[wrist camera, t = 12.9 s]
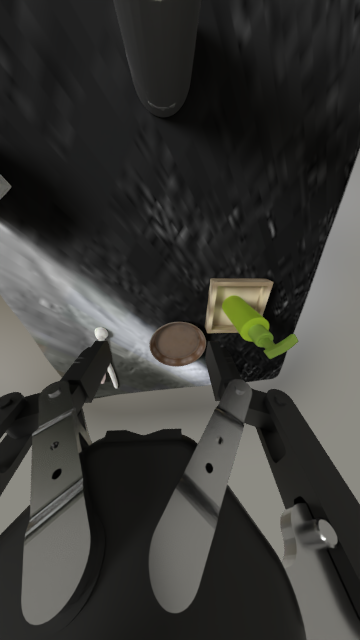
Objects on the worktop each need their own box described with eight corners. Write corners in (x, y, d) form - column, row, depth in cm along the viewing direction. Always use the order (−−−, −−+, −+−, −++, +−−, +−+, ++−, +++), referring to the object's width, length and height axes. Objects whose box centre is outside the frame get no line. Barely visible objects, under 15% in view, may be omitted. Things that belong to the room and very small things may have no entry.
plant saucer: (213, 326, 47) (216, 331, 44) (191, 364, 54) (192, 371, 52) (159, 309, 43) (159, 314, 40) (144, 353, 51) (143, 360, 48)
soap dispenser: (249, 303, 42) (304, 349, 25) (228, 317, 44) (266, 370, 27) (239, 288, 40) (292, 328, 22) (218, 304, 42) (252, 352, 24)
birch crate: (210, 278, 39) (214, 282, 36) (265, 278, 40) (273, 282, 37) (205, 326, 46) (207, 333, 43) (251, 326, 47) (257, 332, 44)
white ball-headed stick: (125, 386, 58) (123, 392, 56) (114, 386, 58) (112, 393, 56) (108, 326, 45) (104, 331, 42) (94, 326, 45) (90, 331, 42)
